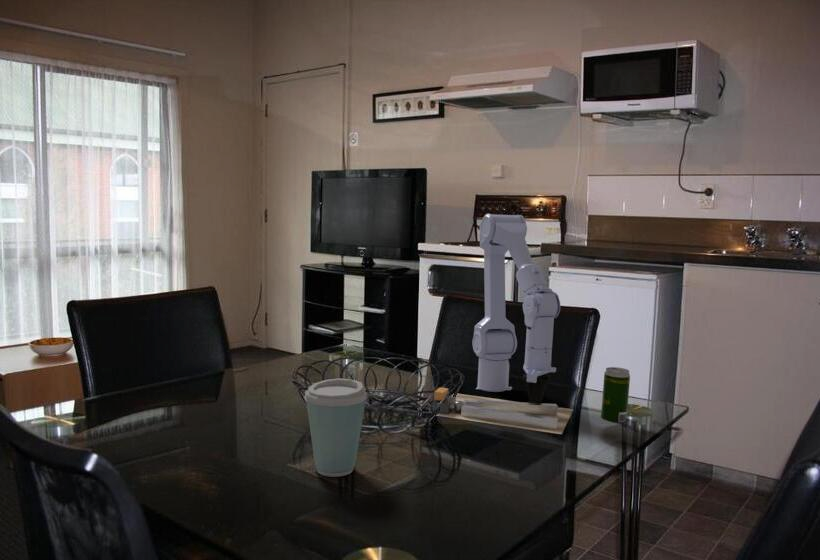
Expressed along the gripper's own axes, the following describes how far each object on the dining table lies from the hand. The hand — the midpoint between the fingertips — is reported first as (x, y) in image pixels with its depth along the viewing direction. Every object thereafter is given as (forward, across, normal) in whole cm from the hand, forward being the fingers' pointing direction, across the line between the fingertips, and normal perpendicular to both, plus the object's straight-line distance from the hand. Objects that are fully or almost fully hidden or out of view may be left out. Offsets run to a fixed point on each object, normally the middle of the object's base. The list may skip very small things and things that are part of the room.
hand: (534, 407), depth 158 cm
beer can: (+2, +3, -17) cm, 17 cm away
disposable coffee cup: (+2, -47, +26) cm, 54 cm away
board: (+2, -4, +6) cm, 8 cm away
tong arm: (+1, -5, +6) cm, 7 cm away
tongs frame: (+1, -9, +7) cm, 11 cm away
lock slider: (-2, -8, +19) cm, 21 cm away
